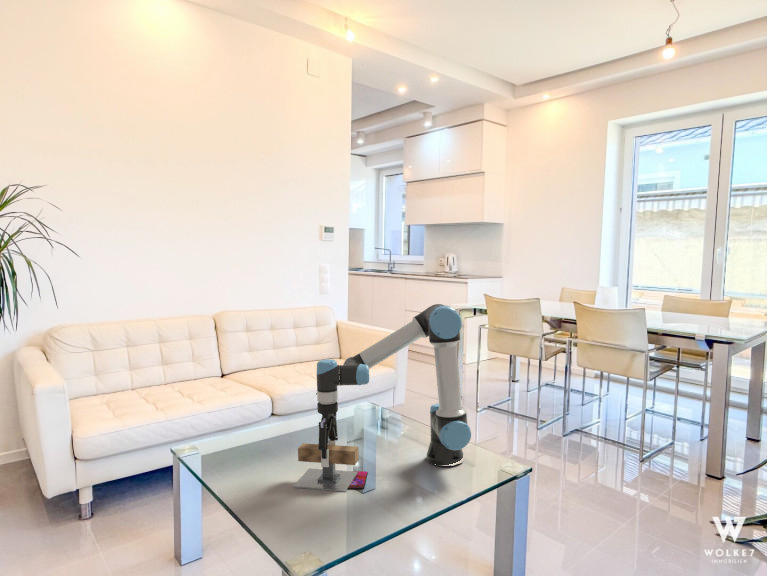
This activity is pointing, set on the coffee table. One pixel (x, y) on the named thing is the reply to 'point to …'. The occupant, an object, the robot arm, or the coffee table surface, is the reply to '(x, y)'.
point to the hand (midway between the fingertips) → (328, 462)
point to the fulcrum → (326, 479)
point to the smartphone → (358, 481)
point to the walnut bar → (336, 454)
